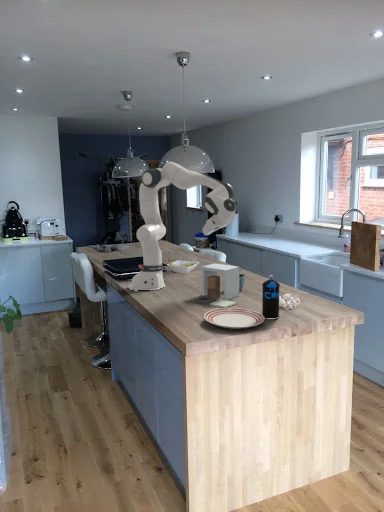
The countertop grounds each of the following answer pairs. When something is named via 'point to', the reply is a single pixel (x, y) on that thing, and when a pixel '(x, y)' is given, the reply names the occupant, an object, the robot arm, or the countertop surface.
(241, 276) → the flower pot
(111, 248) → the countertop surface
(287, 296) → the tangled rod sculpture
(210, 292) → the walnut block
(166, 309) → the countertop surface
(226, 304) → the tile
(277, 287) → the aerosol can
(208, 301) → the trap pit
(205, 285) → the tunnel
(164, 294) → the countertop surface
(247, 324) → the dinner plate
